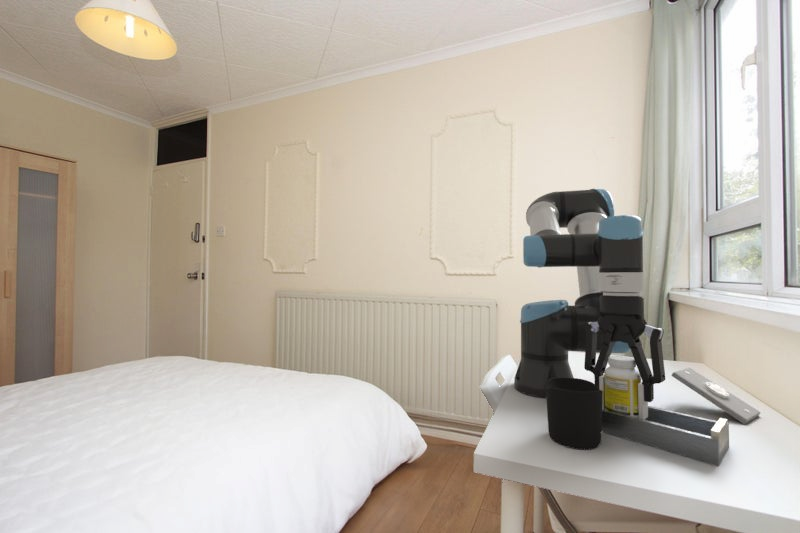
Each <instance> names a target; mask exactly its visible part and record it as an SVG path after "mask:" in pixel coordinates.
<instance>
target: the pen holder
mask: <svg viewBox="0 0 800 533" xmlns="http://www.w3.org/2000/svg"><path fill="white" fill-rule="evenodd" d="M602 398H603V391H602V390H600V389H599V388H598V387H597V386H596V385H595V382H592V381H590V380H587V379H582V378H575V377H574V378H566V377H559V378H551V379H549V380H548V381H547V382H546V398H545V399H546V412H547V428H548V435H549V437H550V438H551V440H552V441H553V442H554V443H556V444H559V445H561V446H563V447H566V448H570V449H575V450H593V449H596V448H598V447H599V446H600V445H601V444H602V432H601V429H602Z"/></svg>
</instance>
